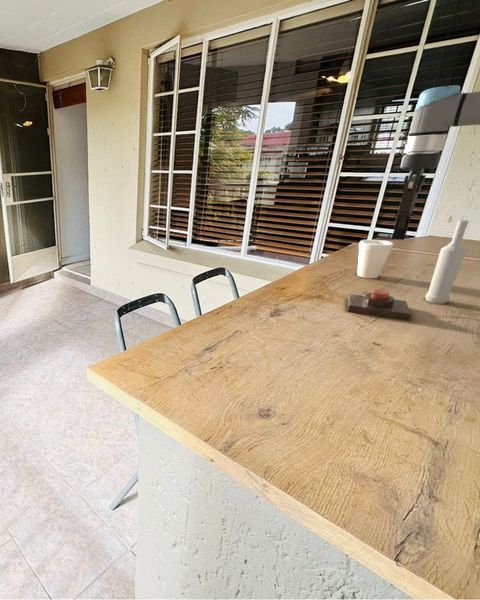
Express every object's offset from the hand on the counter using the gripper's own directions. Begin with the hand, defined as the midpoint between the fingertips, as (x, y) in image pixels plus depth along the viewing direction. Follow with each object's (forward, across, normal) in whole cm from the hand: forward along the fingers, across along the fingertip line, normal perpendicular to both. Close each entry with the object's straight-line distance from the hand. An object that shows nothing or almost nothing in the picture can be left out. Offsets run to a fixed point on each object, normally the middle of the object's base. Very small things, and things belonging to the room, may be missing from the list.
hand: (398, 238), depth 103 cm
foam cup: (+21, -28, -8) cm, 36 cm away
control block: (+20, +7, 0) cm, 22 cm away
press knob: (+17, +7, 0) cm, 18 cm away
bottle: (+21, -11, +12) cm, 26 cm away
